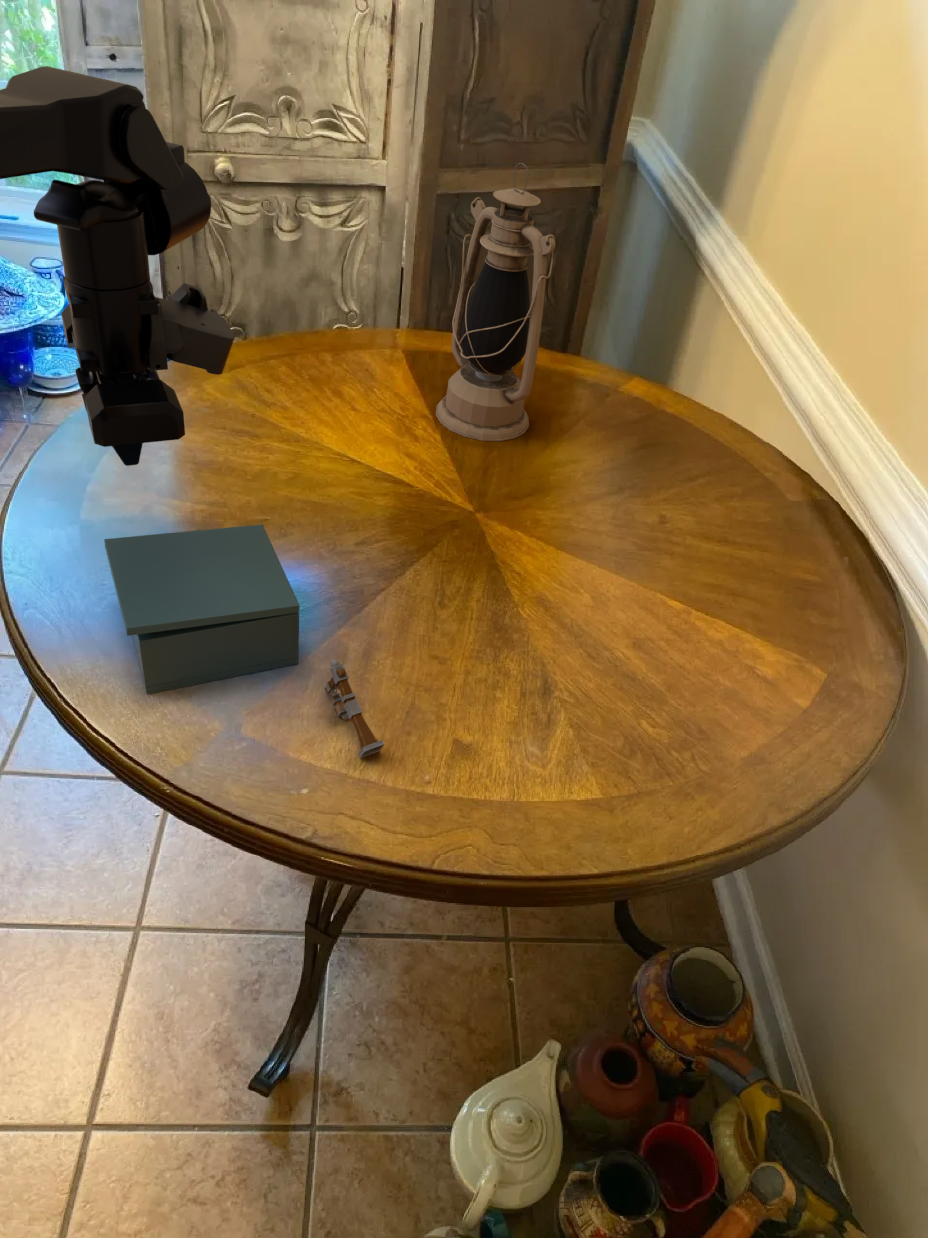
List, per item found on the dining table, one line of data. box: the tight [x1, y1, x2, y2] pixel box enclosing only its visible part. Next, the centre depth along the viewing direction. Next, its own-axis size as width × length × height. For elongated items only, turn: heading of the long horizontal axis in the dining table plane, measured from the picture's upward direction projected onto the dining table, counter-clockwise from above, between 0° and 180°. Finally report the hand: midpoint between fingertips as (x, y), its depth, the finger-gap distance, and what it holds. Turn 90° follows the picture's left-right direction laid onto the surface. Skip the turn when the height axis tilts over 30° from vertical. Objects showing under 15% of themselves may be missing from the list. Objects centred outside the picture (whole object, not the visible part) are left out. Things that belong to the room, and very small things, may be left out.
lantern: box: [435, 162, 556, 442], centre depth 106 cm, size 14×12×30 cm
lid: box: [103, 524, 301, 637], centre depth 76 cm, size 13×12×1 cm
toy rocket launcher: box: [324, 659, 386, 759], centre depth 73 cm, size 2×8×4 cm, turn 32°
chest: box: [130, 612, 300, 695], centre depth 78 cm, size 13×12×6 cm
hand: (131, 463), depth 75 cm, fingers closed
